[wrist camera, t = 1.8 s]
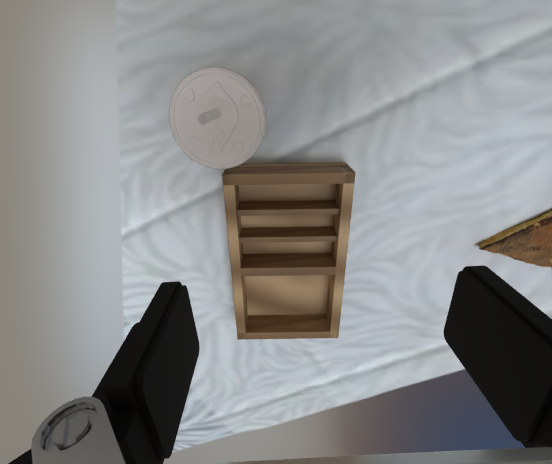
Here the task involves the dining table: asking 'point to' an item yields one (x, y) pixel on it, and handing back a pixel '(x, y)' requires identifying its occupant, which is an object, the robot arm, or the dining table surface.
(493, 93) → the dining table surface
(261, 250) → the wooden shelf
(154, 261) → the dining table surface
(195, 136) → the smoothie
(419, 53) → the dining table surface
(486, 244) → the shard
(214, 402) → the dining table surface
